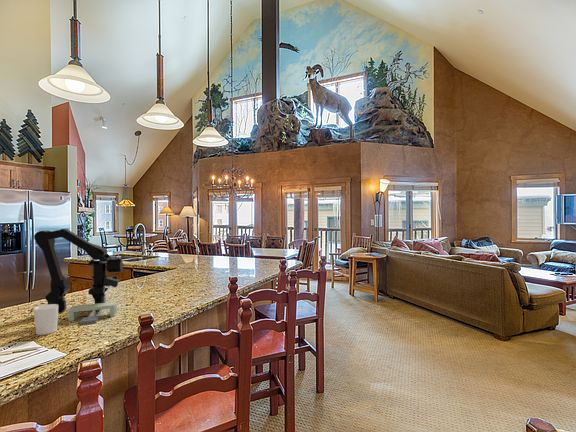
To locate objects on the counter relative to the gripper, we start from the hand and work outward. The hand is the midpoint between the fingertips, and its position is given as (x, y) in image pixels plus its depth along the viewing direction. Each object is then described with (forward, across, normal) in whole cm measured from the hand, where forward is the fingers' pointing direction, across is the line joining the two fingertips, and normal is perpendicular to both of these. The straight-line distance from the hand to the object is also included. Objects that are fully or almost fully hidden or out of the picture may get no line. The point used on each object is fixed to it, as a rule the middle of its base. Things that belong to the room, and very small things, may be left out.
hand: (100, 304), depth 163 cm
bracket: (+2, -14, 0) cm, 14 cm away
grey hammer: (+2, -8, 0) cm, 9 cm away
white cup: (+2, -30, +13) cm, 33 cm away
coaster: (+2, -22, 0) cm, 22 cm away
